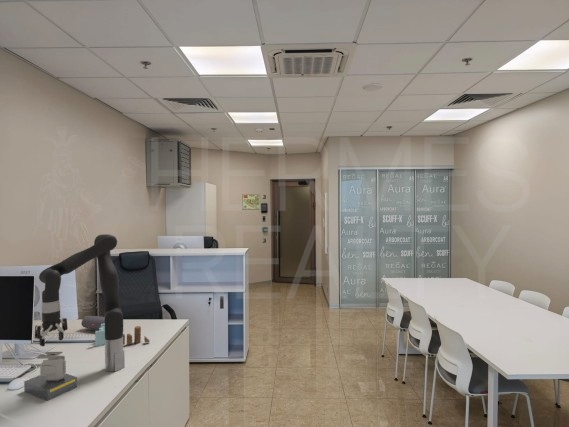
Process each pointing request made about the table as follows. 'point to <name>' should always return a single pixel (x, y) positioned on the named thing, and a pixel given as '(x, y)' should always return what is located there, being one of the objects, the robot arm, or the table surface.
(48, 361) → the cable organizer
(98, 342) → the squiggly pen holder
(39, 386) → the block
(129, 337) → the wooden block set
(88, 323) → the bluetooth speaker
